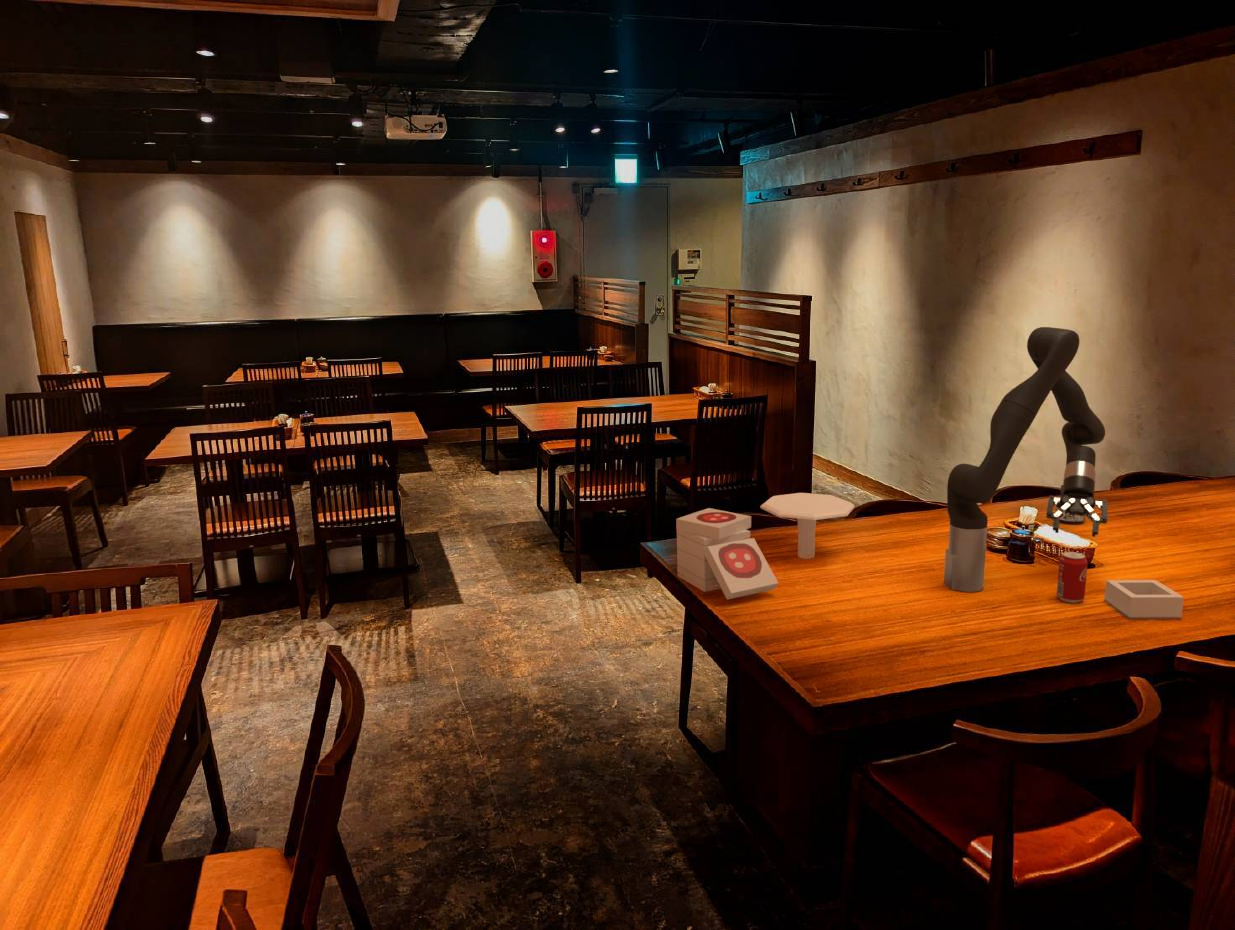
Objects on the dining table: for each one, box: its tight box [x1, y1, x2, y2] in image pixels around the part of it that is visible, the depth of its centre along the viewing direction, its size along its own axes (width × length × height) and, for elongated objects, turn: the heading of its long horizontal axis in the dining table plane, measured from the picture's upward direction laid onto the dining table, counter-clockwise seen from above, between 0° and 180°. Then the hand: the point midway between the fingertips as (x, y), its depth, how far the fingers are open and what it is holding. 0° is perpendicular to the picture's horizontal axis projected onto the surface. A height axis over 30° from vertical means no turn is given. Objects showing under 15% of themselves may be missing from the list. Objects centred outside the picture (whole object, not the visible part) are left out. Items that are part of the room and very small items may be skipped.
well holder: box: [1104, 579, 1185, 620], centre depth 208 cm, size 12×12×6 cm
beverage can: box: [1056, 551, 1088, 604], centre depth 215 cm, size 6×6×12 cm
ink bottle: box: [1054, 484, 1086, 525], centre depth 283 cm, size 10×9×12 cm
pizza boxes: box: [675, 507, 779, 601], centre depth 233 cm, size 19×30×18 cm, turn 26°
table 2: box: [760, 492, 855, 560], centre depth 255 cm, size 28×28×17 cm
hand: (1075, 533), depth 222 cm, fingers open, 8 cm apart
